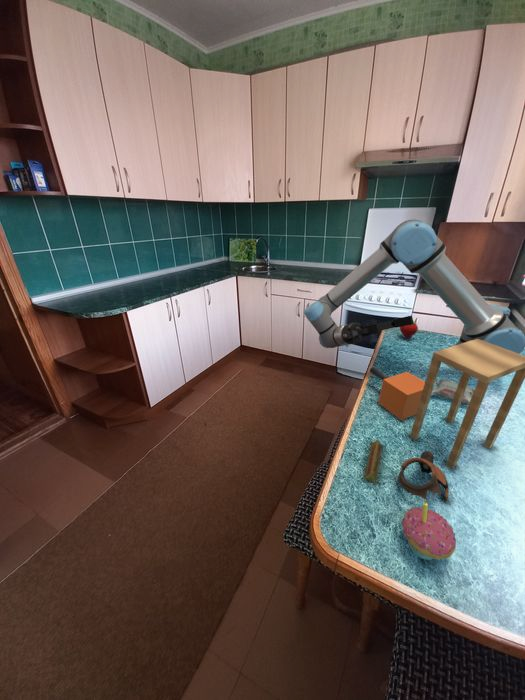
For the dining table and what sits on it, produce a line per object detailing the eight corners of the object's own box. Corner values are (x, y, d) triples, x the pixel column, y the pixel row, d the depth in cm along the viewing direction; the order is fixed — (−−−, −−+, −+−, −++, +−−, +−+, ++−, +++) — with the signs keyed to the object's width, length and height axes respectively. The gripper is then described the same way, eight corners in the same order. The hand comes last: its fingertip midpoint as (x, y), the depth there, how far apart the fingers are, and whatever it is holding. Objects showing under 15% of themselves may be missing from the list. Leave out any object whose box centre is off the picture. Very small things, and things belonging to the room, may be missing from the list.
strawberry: (399, 334, 138) (404, 314, 133) (416, 338, 133) (421, 318, 129) (395, 338, 134) (399, 318, 129) (412, 342, 129) (418, 321, 125)
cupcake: (398, 560, 52) (412, 518, 46) (396, 517, 59) (409, 476, 53) (452, 579, 49) (475, 537, 44) (444, 531, 56) (463, 490, 51)
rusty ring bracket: (453, 516, 59) (442, 494, 56) (404, 509, 65) (391, 489, 62) (451, 464, 67) (441, 442, 64) (407, 461, 73) (396, 441, 70)
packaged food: (471, 412, 87) (476, 398, 85) (428, 397, 94) (432, 384, 92) (475, 398, 93) (480, 386, 91) (434, 385, 100) (438, 373, 98)
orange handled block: (378, 379, 103) (383, 357, 99) (425, 410, 88) (432, 386, 84) (356, 386, 100) (360, 364, 96) (401, 420, 84) (407, 395, 80)
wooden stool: (448, 419, 85) (477, 338, 73) (492, 446, 75) (533, 359, 63) (409, 436, 79) (433, 352, 67) (451, 469, 69) (488, 377, 57)
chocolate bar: (381, 447, 76) (383, 440, 74) (375, 483, 66) (377, 476, 65) (371, 444, 77) (372, 437, 76) (364, 479, 67) (365, 472, 66)
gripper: (378, 337, 109) (428, 328, 90) (323, 351, 100) (365, 345, 80) (373, 318, 109) (422, 304, 90) (318, 330, 100) (359, 318, 80)
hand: (395, 323), depth 85 cm, fingers open, 13 cm apart
